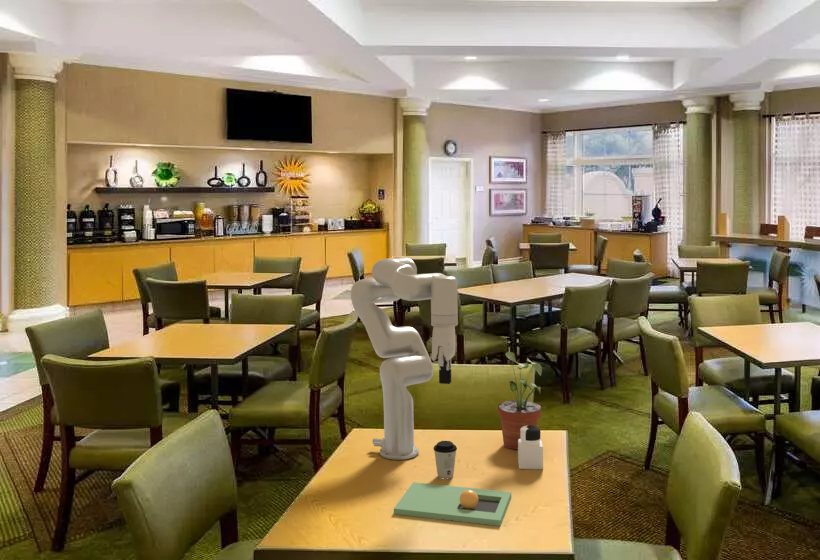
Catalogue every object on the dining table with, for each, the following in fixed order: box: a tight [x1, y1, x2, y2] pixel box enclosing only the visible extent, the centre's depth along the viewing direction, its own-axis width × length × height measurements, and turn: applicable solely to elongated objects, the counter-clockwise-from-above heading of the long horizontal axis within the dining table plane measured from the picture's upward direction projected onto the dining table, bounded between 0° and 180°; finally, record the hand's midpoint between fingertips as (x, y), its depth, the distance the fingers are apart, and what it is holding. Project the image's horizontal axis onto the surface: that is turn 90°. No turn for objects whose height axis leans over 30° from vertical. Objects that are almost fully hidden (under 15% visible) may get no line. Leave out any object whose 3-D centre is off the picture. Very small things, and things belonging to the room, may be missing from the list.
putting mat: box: [393, 481, 512, 527], centre depth 193 cm, size 28×18×2 cm, turn 73°
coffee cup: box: [433, 440, 458, 480], centre depth 213 cm, size 7×7×10 cm
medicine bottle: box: [517, 425, 544, 470], centre depth 220 cm, size 7×7×12 cm
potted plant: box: [497, 351, 543, 450], centre depth 236 cm, size 16×15×35 cm
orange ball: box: [459, 490, 479, 510], centre depth 190 cm, size 5×5×5 cm
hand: (445, 382), depth 207 cm, fingers closed
